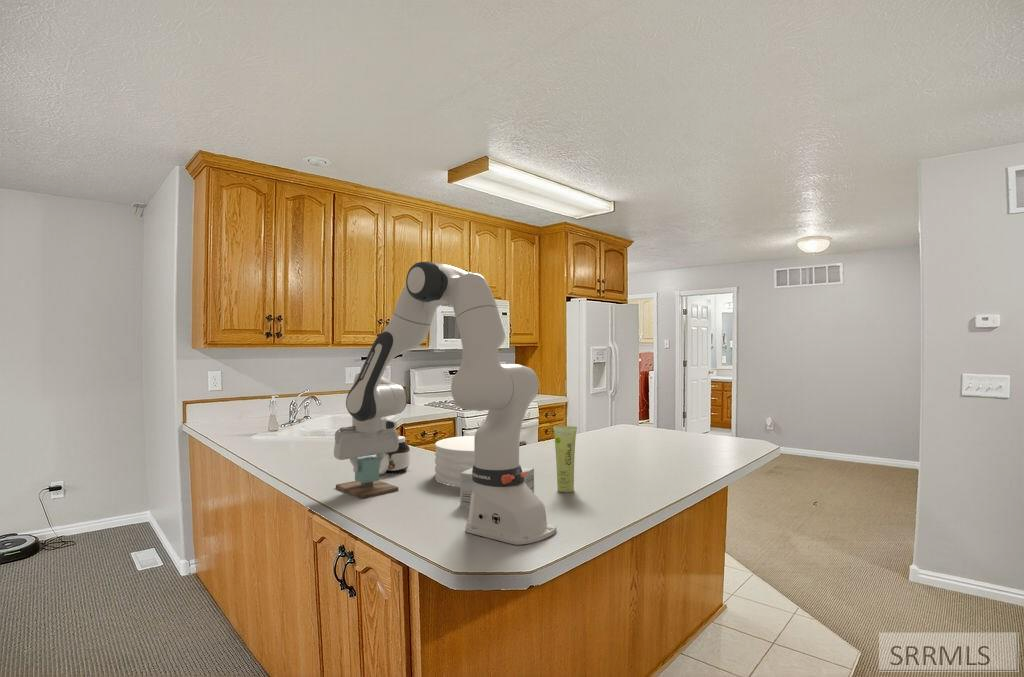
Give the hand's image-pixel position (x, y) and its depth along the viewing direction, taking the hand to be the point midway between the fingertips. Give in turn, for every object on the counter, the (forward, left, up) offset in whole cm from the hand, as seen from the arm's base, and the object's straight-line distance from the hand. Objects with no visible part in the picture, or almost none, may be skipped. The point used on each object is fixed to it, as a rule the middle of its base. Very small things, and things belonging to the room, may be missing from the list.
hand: (367, 470), depth 158 cm
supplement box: (-38, -19, -6) cm, 43 cm away
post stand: (0, 0, -6) cm, 6 cm away
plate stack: (-11, -34, -6) cm, 37 cm away
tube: (-43, -42, -6) cm, 60 cm away
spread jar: (+14, -17, -6) cm, 23 cm away
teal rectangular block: (0, 0, -3) cm, 3 cm away
